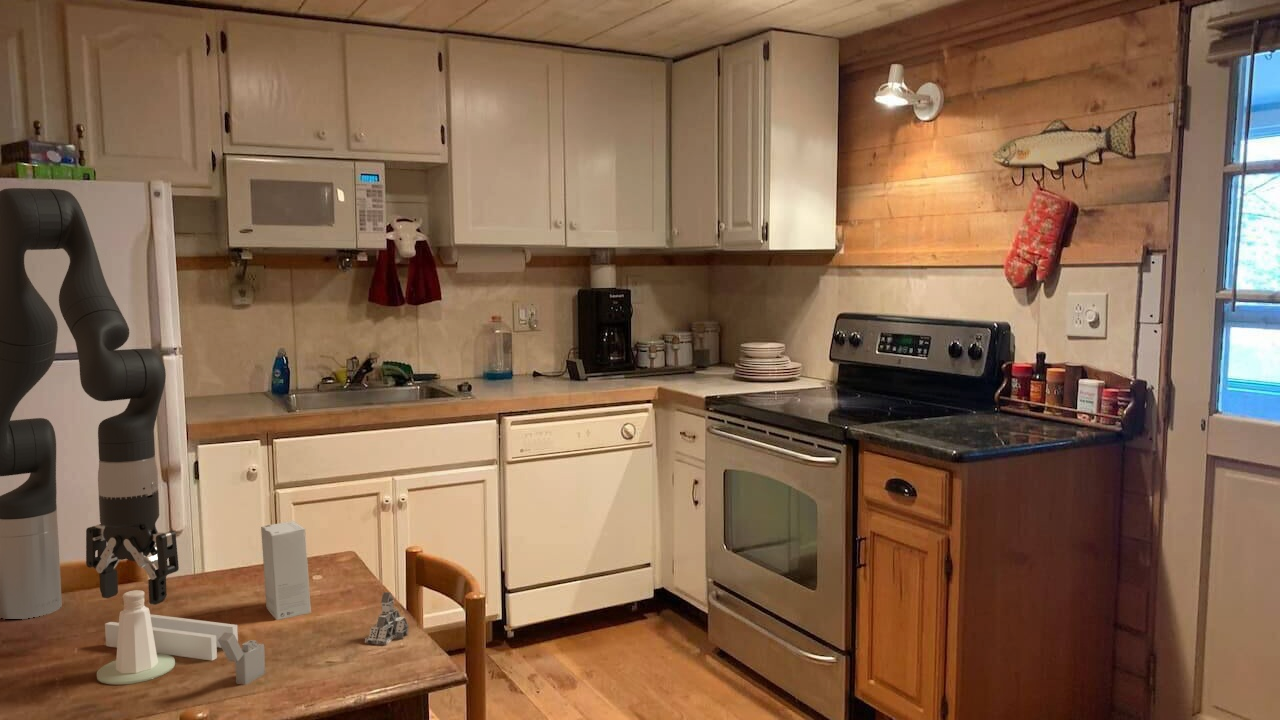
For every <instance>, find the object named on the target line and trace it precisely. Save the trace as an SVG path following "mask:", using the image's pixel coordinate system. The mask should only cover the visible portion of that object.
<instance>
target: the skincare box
mask: <svg viewBox="0 0 1280 720" xmlns="http://www.w3.org/2000/svg"><path fill="white" fill-rule="evenodd" d="M260 533H261V544H262V546H261V547H262V549H261V550H262V559H263V561H262V563H263V576H264V577H263V578H264V591H265V604H266V607H265V608H266V609H267V610H268V612H269V613H270V614H271V615H272V617H273V618H274V619H275V620H276V621H280V620H285V619H289V618H290V619H291V618H294V617H298V616H303V615H308V614H312V610H311V609H312V608H311V597H310V581H309V579H310V577H309V566H308V553H307V539H306V528H304V527H303V526H302V525H300V524H298V523H297V522H296V521H294V520H293V521H286V522H279V523H274V524H273V523H272V524H268V525H262V526H260Z"/></svg>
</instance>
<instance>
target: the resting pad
mask: <svg viewBox="0 0 1280 720" xmlns="http://www.w3.org/2000/svg"><path fill="white" fill-rule="evenodd" d="M157 659H158V663H157V664H156V665H155V666H154V667H153V668H152V669H150V670H146V671H143V672H139V673H133V674H121V673H120V672H119V671H117V670H116V659H115V660H113V661H110V662H108V663H106V664H104V665H103V666H101V667H100V668H99V669H98V670H97V672H96V679H97V681H98V682H100V683H102V684H107V685H113V686H115V685H117V686H119V685H121V686H122V685H131V684H132V685H133V684H138V683H143V682H146V681H151V680H153V679H157V678H160V677H162V676H164V675H165V674H167V673H169V672H170V671H172V670H173V669H174V667H175V665H176V660H175V658H174V656H173V655H168V654H160V653H157Z"/></svg>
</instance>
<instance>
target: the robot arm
mask: <svg viewBox="0 0 1280 720" xmlns="http://www.w3.org/2000/svg"><path fill="white" fill-rule="evenodd" d="M61 249H62V250H63V251H64V252H65V253H66V254H67V256H68V258H69V264H68V269H67V271H66V274H65V276H64V278H63V280H62V284H61V286H60V289H59V292H58V293H59V294H58V306H59V309H60V314H61V315H62V318H63V320H64V322H65V323H66V326H67V328H68V330H69V332H70V334H71V336H72V337H73V340H74V342H75V347H76V351H77V356H78V365H79V380H80V384H81V387H82V389H83V391H84V392H85V393H86V394H87V395H88V397H90V398H92V399H93V400H95V401H99V402H114V401H124V400H125V401H126V400H129V402H128V404H127V406H126V407H125V409H124V410H123V411H122V412H121V413H118V414H116V415H113V416H110V417H107V418H105V419H103V420H102V421H100V423H98V428H97V444H98V470H97V487H98V508H99V511H98V513H99V522H100V523H99V524H96V525H93V526H90V527H87V528H86V530H85V534H86V535H85V539H86V540H85V550H86V551H85V553H86V554H85V556H86V557H85V564H86V567H87V568H89V569H90V568H94V569H95V570H96V572H97V574H99V590H100V594H101V598H103V599H110V598H112V597H115V596H117V595H118V593H119V584H118V569H116V567H117V566H118V565H119V563H120V561H123V560H128V561H130V562H136V564H137V566H138V567H139V568H142V569H143V570H144V571H145V573H146V575H147V576H148V577H149V579H148V580H147V583H148V584H147V585H148V602H149V604H150V605H154V606H155V605H158V604H161V603H163V602H165V600H166V597H167V594H168V593H167V577H168V575H171V574H174V573H176V572H178V571H179V570H180V569H179V568H180V567H179V566H180V565H179V555H178V545H177V536H176V535H177V534H176V532H175V531H174V530H170V531H166V532H158V530H157V527H156V523H157V520H158V519H159V518H160V502H159V501H160V500H159V499H160V497H159V496H160V495H159V476H158V475H159V474H158V467H157V466H158V465H157V462H156V456H155V455H156V451H155V450H156V449H155V448H156V447H155V445H156V444H155V442H156V441H155V425H156V421H157V417H158V413H159V407H160V403H161V400H162V396H163V393H164V389H165V384H166V378H167V377H166V375H167V373H166V367H165V363H164V361H163V360H162V358H161V356H160V355H159V354H158V353H157V352H156V351H154V350H152V349H149V348H134V349H133V348H132V349H119V348H121V347H123V346H124V344H126V343H127V341H128V339H129V337H130V327H129V325H128V323H127V321H126V319H125V317H124V315H123V313H122V311H121V310H120V308H119V305H118V303H117V301H116V300H115V299H114V298H115V297H114V296H113V295H112V293H111V290H110V288H109V286H108V284H107V281H106V278H105V276H104V273H103V269H102V267H101V264H100V260H99V255H98V253H97V249H96V246H95V243H94V240H93V238H92V234H91V230H90V228H89V225H88V221H87V218H86V216H85V214H84V211H83V209H82V207H81V204H80V202H79V201H78V200H77V198H76V197H75V196H74V195H73V193H71V192H70V191H69V190H65V189H59V188H37V187H36V188H35V187H33V188H31V187H30V188H29V187H28V188H27V187H10V188H8V187H7V188H3V189H0V477H8V476H18V475H24V474H29V476H28V478H27V479H26V481H25V482H23V483H22V484H21V485H19V486H18V487H16V488H14V489H12V490H10V491H8V492H6V493H4V494H1V495H0V617H1V618H4V619H3V620H5V619H22V620H28V618H30V619H34V618H33V617H35V618H40V617H43V615H44V616H47V615H50V614H52V613H54V612H56V611H58V610H60V609H61V608H62V606H63V604H62V603H63V601H62V580H61V566H60V565H61V563H60V559H61V558H60V545H59V541H60V540H59V528H58V526H59V525H58V510H57V509H58V507H57V438H56V431H55V429H54V426H53V424H52V423H51V421H50V420H49V419H47V418H44V417H37V418H36V417H35V418H24V419H23V418H22V419H13V420H11V418H12V417H13V413H14V412H15V409H16V408H17V407H18V405H19V404H20V402H21V401H22V400H23V398H24V397H25V396H26V395H27V394H28V393H29V392H30V391H31V390H32V389H34V387H35V386H36V384H37V383H38V382H39V381H40V380H41V379H42V378H43V377H44V376H45V375H46V374H47V372H48V371H49V369H50V368H51V366H52V365H53V364H54V362H55V358H56V351H57V349H56V348H57V341H58V331H59V327H58V321H57V317H56V316H55V314H54V312H53V310H52V309H51V307H50V306H49V304H48V303H47V302H46V300H45V299H44V298H43V297H42V295H41V294H40V293H39V292H38V290H37V289H36V287H35V286H34V285H33V282H31V279H30V278H29V275H28V274H27V271H26V268H25V255H26V252H27V251H38V250H39V251H40V250H42V251H43V250H44V251H45V250H61ZM118 349H119V350H118ZM96 552H97V554H96ZM96 555H97V556H96ZM149 555H151V556H149ZM148 556H149V557H148ZM155 567H156V568H155ZM60 607H61V608H60ZM46 614H47V615H46ZM39 616H40V617H39ZM1 618H0V619H1Z"/></svg>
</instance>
